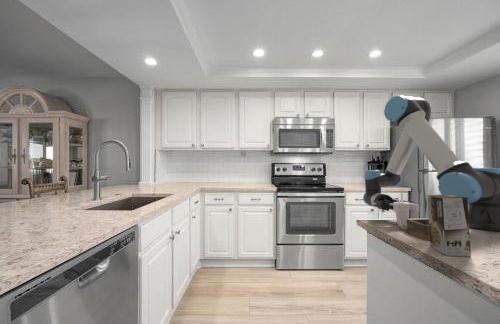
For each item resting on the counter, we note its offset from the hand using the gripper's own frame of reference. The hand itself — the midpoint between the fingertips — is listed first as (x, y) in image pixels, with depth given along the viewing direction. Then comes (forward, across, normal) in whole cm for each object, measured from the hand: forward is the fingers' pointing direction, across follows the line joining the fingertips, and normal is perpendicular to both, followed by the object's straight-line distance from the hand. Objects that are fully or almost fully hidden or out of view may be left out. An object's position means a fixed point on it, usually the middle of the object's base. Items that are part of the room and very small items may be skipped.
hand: (408, 208), depth 103 cm
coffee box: (+29, +5, -8) cm, 31 cm away
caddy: (+10, -2, -8) cm, 13 cm away
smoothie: (-5, 0, -8) cm, 10 cm away
